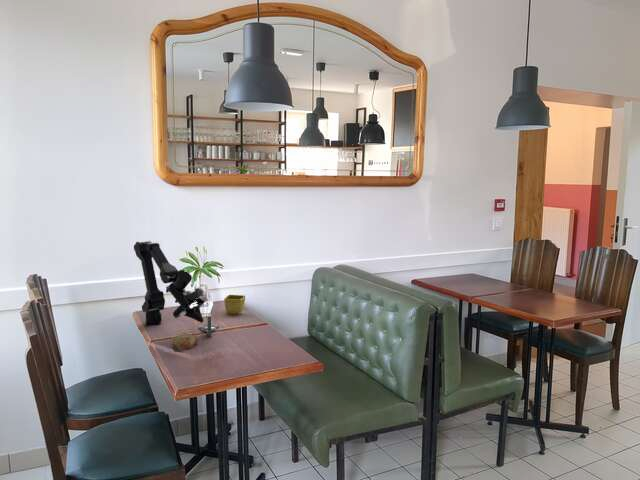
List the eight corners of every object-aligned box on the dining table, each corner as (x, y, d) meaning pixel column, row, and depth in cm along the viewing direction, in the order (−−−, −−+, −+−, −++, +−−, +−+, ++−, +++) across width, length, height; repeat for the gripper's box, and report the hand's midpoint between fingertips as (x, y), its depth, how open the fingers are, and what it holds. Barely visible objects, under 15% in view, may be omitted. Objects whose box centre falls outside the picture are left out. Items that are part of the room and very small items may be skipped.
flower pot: (245, 312, 256) (245, 295, 255) (241, 317, 248) (241, 299, 246) (228, 311, 257) (228, 294, 256) (224, 316, 249) (223, 298, 247)
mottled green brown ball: (169, 357, 203) (164, 343, 199) (183, 340, 211) (177, 326, 207) (190, 361, 200) (185, 346, 196) (203, 343, 208) (198, 329, 204)
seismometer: (198, 324, 231) (198, 305, 230) (218, 323, 233) (217, 304, 232) (198, 337, 213) (198, 317, 212) (220, 336, 215) (219, 315, 214)
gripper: (178, 287, 207) (202, 316, 205) (203, 278, 225) (224, 305, 223) (162, 303, 211) (185, 332, 209) (188, 293, 228) (209, 319, 227)
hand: (202, 321), depth 217 cm, fingers closed
